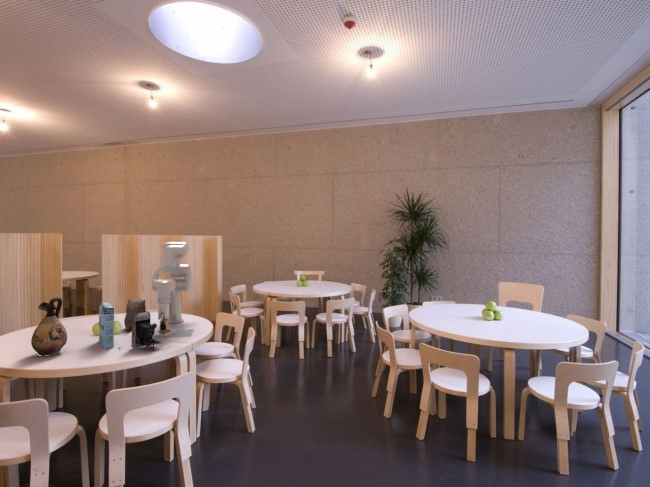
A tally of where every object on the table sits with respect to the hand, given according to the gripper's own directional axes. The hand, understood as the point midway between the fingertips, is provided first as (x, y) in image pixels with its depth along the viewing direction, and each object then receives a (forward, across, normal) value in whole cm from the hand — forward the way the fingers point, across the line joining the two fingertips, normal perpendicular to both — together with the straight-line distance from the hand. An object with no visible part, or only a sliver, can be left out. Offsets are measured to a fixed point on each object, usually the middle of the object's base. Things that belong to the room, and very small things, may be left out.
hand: (164, 328), depth 230 cm
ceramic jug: (+5, +21, -53) cm, 57 cm away
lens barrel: (+4, 0, 0) cm, 4 cm away
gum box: (+5, +9, -30) cm, 32 cm away
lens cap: (+2, 0, 0) cm, 2 cm away
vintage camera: (+5, +23, -5) cm, 24 cm away
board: (+5, 0, +5) cm, 7 cm away
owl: (+5, -24, -24) cm, 34 cm away
